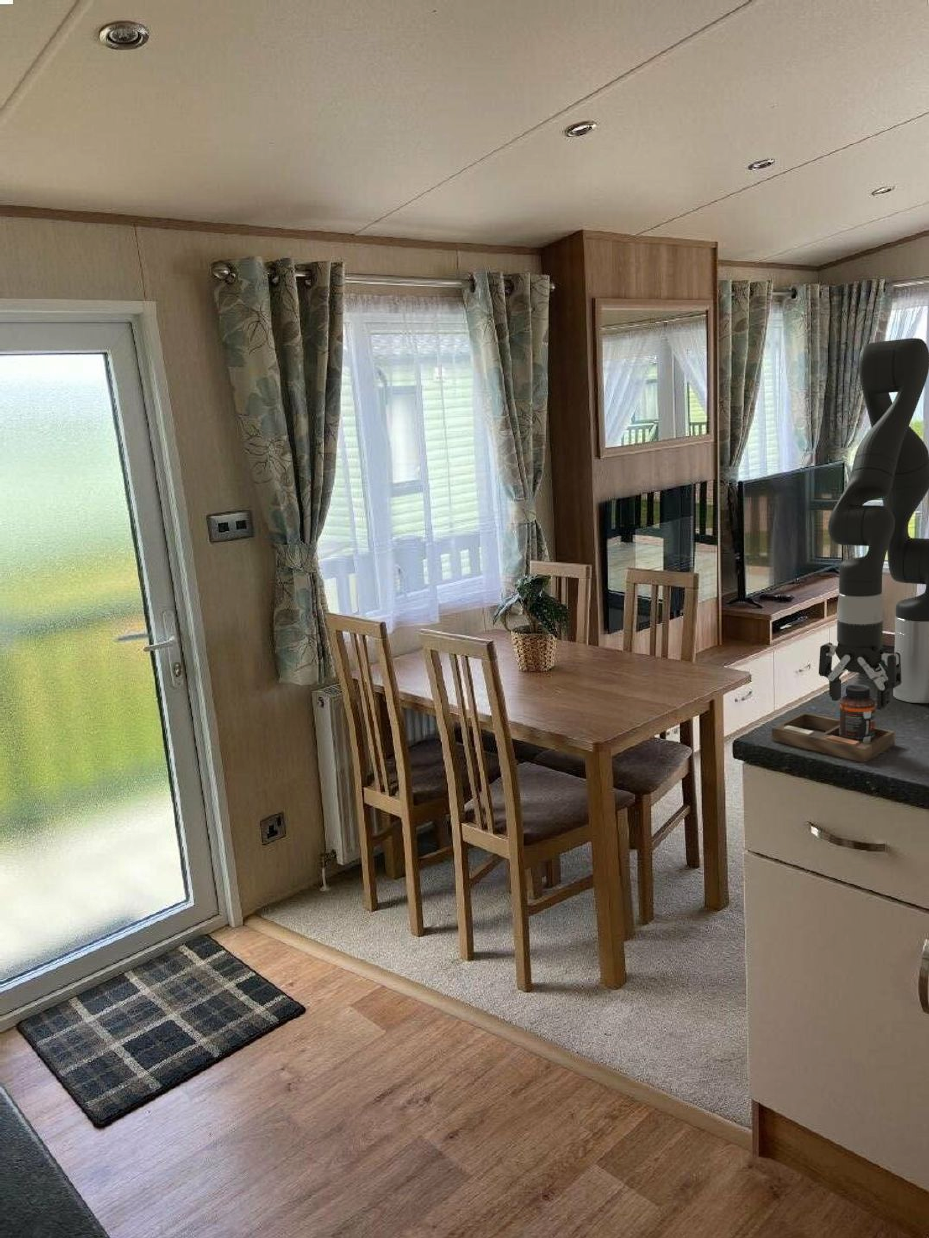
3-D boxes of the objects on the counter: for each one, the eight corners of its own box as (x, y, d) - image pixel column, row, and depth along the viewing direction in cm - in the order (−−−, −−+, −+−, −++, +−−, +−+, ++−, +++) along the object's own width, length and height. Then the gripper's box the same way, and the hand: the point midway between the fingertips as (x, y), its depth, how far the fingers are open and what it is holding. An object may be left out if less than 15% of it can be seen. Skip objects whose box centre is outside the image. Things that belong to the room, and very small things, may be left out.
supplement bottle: (877, 752, 170) (879, 691, 168) (842, 752, 171) (843, 692, 169) (870, 740, 176) (871, 682, 173) (836, 740, 177) (837, 682, 175)
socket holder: (894, 744, 173) (894, 729, 172) (864, 762, 166) (864, 747, 165) (803, 724, 187) (803, 710, 186) (771, 740, 179) (771, 726, 179)
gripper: (909, 617, 165) (907, 706, 169) (832, 608, 176) (831, 691, 180) (889, 627, 161) (887, 717, 164) (811, 617, 171) (811, 702, 175)
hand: (858, 704), depth 172 cm, fingers open, 8 cm apart
